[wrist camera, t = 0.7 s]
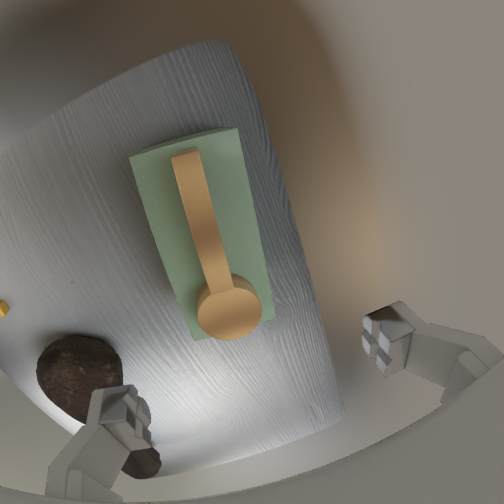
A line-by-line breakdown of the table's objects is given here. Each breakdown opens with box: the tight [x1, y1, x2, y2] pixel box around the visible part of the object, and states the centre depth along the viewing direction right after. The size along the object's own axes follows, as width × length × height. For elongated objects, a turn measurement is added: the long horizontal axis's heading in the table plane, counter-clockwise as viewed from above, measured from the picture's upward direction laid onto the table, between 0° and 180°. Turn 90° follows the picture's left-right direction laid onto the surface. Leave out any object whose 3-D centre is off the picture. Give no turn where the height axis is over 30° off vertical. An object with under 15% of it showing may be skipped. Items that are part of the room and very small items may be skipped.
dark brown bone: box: [36, 336, 162, 479], centre depth 32 cm, size 11×10×28 cm
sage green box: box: [129, 127, 276, 341], centre depth 24 cm, size 15×7×8 cm, turn 11°
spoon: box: [171, 147, 262, 340], centre depth 19 cm, size 14×5×2 cm, turn 11°
